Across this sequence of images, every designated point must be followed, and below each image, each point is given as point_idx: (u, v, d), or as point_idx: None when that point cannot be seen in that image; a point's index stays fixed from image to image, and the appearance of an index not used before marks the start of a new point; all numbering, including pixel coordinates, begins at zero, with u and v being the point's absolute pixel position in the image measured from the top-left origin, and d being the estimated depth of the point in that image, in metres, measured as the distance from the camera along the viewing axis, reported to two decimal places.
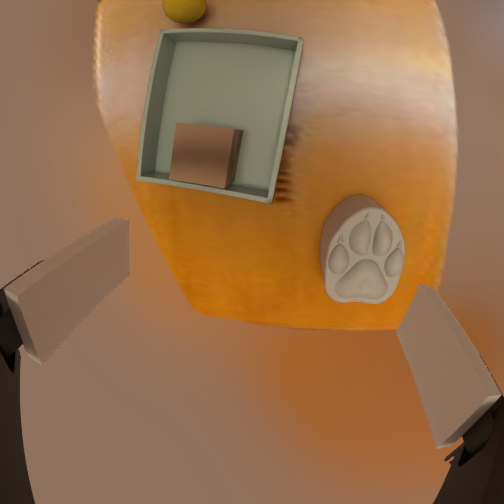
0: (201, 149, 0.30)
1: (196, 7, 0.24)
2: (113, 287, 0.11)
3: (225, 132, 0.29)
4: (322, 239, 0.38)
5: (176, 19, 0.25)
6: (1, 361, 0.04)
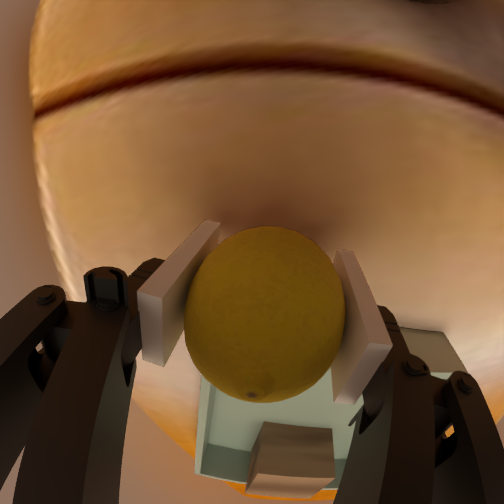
0: (289, 486, 0.19)
1: None
2: None
3: (323, 479, 0.18)
4: None
5: None
6: (121, 377, 0.06)
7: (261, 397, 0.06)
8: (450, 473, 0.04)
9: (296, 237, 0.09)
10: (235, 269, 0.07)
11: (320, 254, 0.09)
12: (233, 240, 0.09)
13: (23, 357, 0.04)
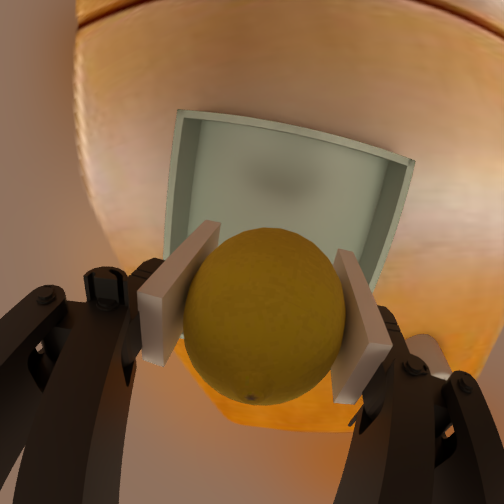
0: None
1: None
2: None
3: None
4: None
5: None
6: (121, 377, 0.06)
7: (260, 399, 0.06)
8: (450, 473, 0.04)
9: (296, 239, 0.09)
10: (234, 271, 0.07)
11: (320, 256, 0.09)
12: (232, 242, 0.09)
13: (23, 357, 0.04)
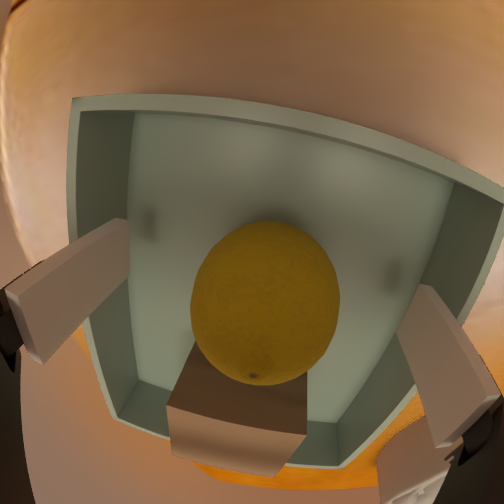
0: (231, 447, 0.13)
1: None
2: (113, 287, 0.11)
3: (285, 438, 0.12)
4: (388, 455, 0.20)
5: None
6: (2, 361, 0.04)
7: (261, 377, 0.07)
8: None
9: (293, 231, 0.10)
10: (237, 262, 0.08)
11: (315, 247, 0.09)
12: (235, 234, 0.10)
13: None
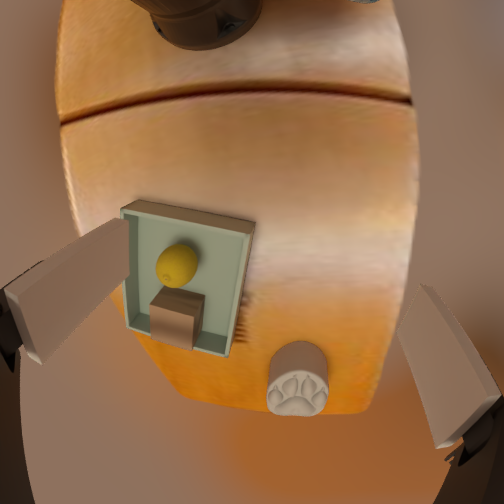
0: (171, 326, 0.40)
1: (189, 280, 0.37)
2: (113, 287, 0.11)
3: (187, 318, 0.38)
4: None
5: None
6: (1, 361, 0.04)
7: (167, 280, 0.34)
8: None
9: (181, 247, 0.37)
10: (164, 254, 0.35)
11: (186, 251, 0.36)
12: (166, 248, 0.37)
13: None
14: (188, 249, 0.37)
